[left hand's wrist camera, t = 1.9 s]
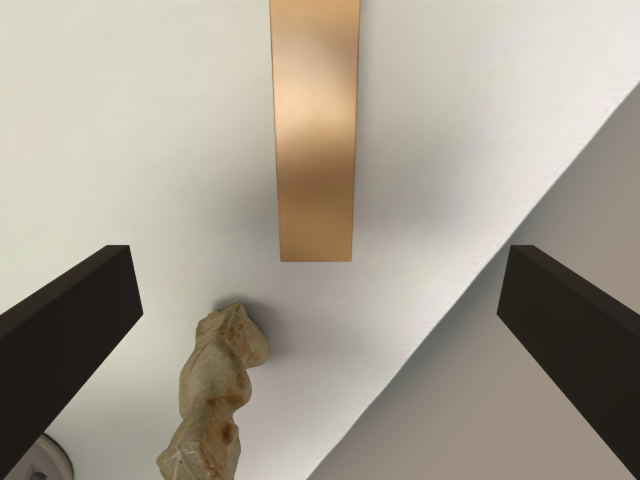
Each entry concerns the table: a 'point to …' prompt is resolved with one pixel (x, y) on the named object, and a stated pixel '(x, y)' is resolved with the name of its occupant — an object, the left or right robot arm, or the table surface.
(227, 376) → the sculpture
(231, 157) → the table surface
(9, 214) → the table surface
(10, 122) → the table surface
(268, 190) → the table surface
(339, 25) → the bar
